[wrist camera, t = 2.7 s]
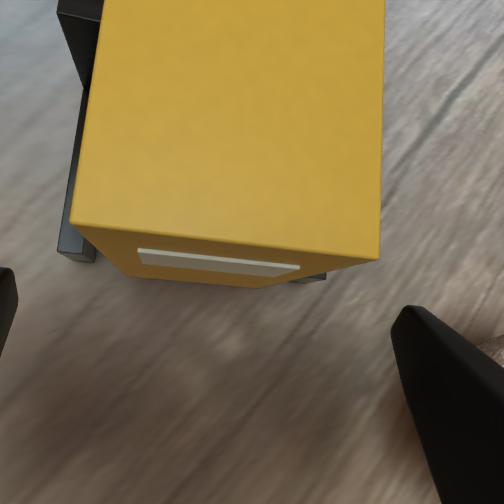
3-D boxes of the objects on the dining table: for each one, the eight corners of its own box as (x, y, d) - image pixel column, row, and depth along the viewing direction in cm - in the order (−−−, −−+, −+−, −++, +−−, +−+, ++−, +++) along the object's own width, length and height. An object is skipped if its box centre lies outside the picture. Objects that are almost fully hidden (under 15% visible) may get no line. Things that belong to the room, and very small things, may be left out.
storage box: (258, 291, 21) (380, 264, 9) (125, 278, 19) (66, 228, 8) (269, 155, 22) (387, -21, 10) (143, 134, 20) (118, -96, 9)
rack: (304, 283, 21) (377, 269, 14) (72, 260, 19) (15, 229, 12) (312, 137, 23) (382, 56, 15) (97, 99, 20) (61, -19, 13)
